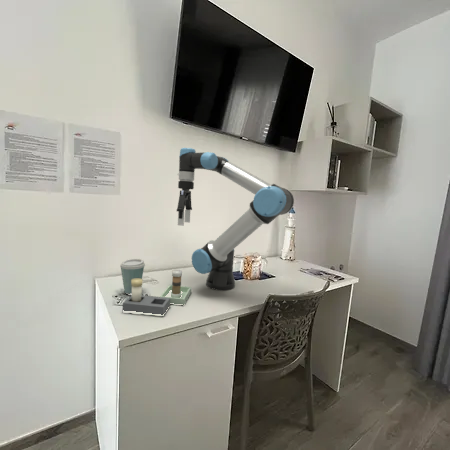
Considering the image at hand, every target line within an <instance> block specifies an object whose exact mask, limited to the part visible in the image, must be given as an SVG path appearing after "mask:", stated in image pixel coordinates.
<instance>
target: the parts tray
mask: <svg viewBox="0 0 450 450" xmlns="http://www.w3.org/2000/svg"><path fill="white" fill-rule="evenodd" d="M170 290H172V284H169V285H168V286H167V287H166V289H165V290H164V291H163V292H162V293H161V294H160V296H159V297H165V296H166V295H167V294H168V293H169V291H170ZM181 291H182V292H183V293H182V294H181V295H182V297H181V298H172V297H166V298H170V303H174V304H183V305H184V304H186V303H187V301H188V299H189V298H188V297H190V296H191V294H192V287H191V286H182V285H181ZM190 293H191V294H190ZM189 295H190V296H189ZM186 300H187V301H186ZM185 302H186V303H185ZM184 306H185V305H184Z"/></svg>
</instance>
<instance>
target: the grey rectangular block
mask: <svg viewBox="0 0 450 450" xmlns="http://www.w3.org/2000/svg"><path fill="white" fill-rule="evenodd" d="M131 297H132V295H129V297H128V298H126V299H125V301H123V303H122V311H123V310H124V311H136V312H143V313H152V314H161V315H163V314H164V313H165V312H166V310H167V309H168V307H169V306H170V307H171V305H170V298H166V297H160V296H155V295H154V296H153V295H145V294H142V298H141V302H132V301H131ZM168 310H169V309H168ZM166 313H167V312H166Z"/></svg>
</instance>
